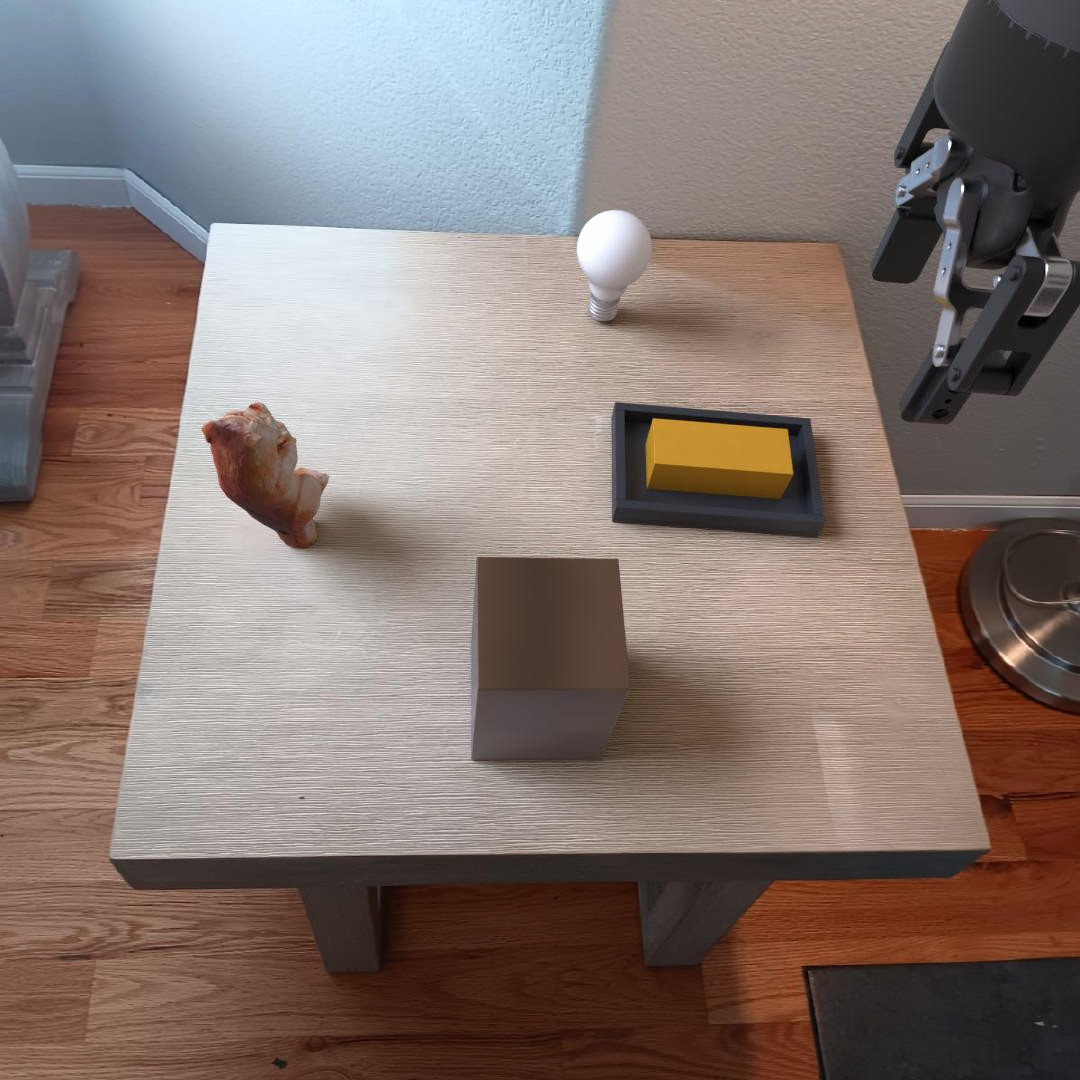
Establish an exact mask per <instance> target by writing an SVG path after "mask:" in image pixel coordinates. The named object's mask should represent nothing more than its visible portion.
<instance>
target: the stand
mask: <svg viewBox="0 0 1080 1080" xmlns="http://www.w3.org/2000/svg"><path fill="white" fill-rule="evenodd" d="M620 571H621V570H620V560H619V558H601V557H600V558H595V557H593V558H591V557H589V558H588V557H527V556H526V557H525V556H524V557H522V556H521V557H519V556H515V557H514V556H476V562H475V579H474V593H473V608H472V609H473V610H472V624H471V639H470V662H471V663H470V744H471V745H470V748H471V749H470V760H471V761H572V760H573V761H579V760H580V761H581V760H583V761H584V760H585V761H587V760H589V761H590V760H593V761H595V760H597V761H599V760H600V761H601V760H603V758H604V755H605V753H606V751H607V748H608V745H609V743H610V740H611V738H612V735H613V733H614V730H615V728H616V725H617V723H618V720H619V718H620V716H621V713H622V711H623V708H624V706H625V703H626V701H627V698H628V697H629V693H630V691H631V683H630V682H631V680H630V670H629V661H628V650H627V649H628V648H627V639H626V627H625V616H624V615H625V614H624V605H623V604H624V603H623V591H622V583H621V582H622V580H621V572H620Z"/></svg>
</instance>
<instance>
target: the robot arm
mask: <svg viewBox="0 0 1080 1080" xmlns="http://www.w3.org/2000/svg"><path fill="white" fill-rule="evenodd" d="M961 12H962V13H961V15H960V17H959V19H958V21H957V23H956V26H955V28H954V30H953V32H952V33H951V36H950V39H949V41H947V42H946V44H945V45H944V47H943V48H942V49H943V50H942V51H941V53H940V55H939V58H938V60H937V62H936V64H935V66H934V68H933V70H932V72H931V74H930V76H929V78H928V80H927V83H926V85H925V86H924V89H923V92H921V95H920V97H919V99H918V101H917V103H916V105H915V108H914V110H913V112H912V114H911V116H910V118H909V120H908V122H907V124H906V126H905V127H904V128H905V129H904V131H903V133H902V135H901V137H900V139H899V141H898V142H897V143H898V144H897V145H896V148H895V149H894V154H893V163H894V167H895V168H897V169H904V170H905V175H903V176H902V177H901V178H900V179H899V181H898V183H897V186H896V188H895V191H894V201H895V202H894V203H895V205H896V206H898V207H896V209H895V211H894V213H893V214H892V217H891V219H890V221H889V223H888V226H887V227H886V230H885V232H884V233H883V236H882V238H881V240H880V242H879V245H878V247H877V248H876V250H875V253H874V255H873V257H872V259H871V261H870V264H869V265H870V270H871V271H870V272H871V277H872V279H873V280H874V281H876V282H882V283H892V284H903V285H908V284H912V283H914V282H916V281H917V280H918V279H919V277H920V275H921V274H922V272H923V270H924V268H925V267H926V264H927V262H928V261H929V259H930V257H931V255H932V253H933V251H934V249H935V248H936V246H937V244H938V242H939V240H940V238H941V237H943V244H942V248H941V254H940V257H939V259H940V260H939V263H938V266H937V267H938V268H937V272H936V277H935V280H934V285H933V292H932V295H933V298H934V300H935V301H936V302H937V303H939V305H940V306H941V312H940V317H939V320H938V325H937V330H936V334H935V339H934V342H933V348H930V350H929V351H928V353H927V354H926V356H925V358H924V360H923V361H922V363H921V365H920V367H919V368H918V370H917V371H916V373H915V374H914V376H913V378H912V380H911V381H910V382H909V385H908V386H907V388H906V389H905V392H904V393H903V394H902V397H901V398H900V400H899V402H898V407H899V411H900V417H901V419H902V420H903V421H905V422H909V423H917V424H918V423H919V424H930V425H946V426H947V425H949V424H950V423H952V422H953V421H955V419H956V418H957V416H958V414H960V413H959V412H960V411H961V410H962V409H963V407H964V405H965V404H966V403H967V401H968V400H969V398H970V397H971V395H972V394H986V395H998V396H1009V397H1018V396H1019V395H1020V394H1021V393H1022V391H1023V390H1024V389H1025V387H1026V385H1027V384H1028V383H1029V381H1030V380H1031V379H1032V377H1033V375H1034V374H1035V372H1036V371H1037V370H1038V368H1039V366H1040V365H1041V363H1042V362H1043V360H1044V359H1045V357H1046V356H1047V354H1048V353H1049V352H1050V350H1051V348H1052V347H1053V346H1054V344H1055V342H1056V341H1057V340H1058V338H1059V337H1060V335H1061V334H1062V333H1063V331H1064V329H1066V327H1067V325H1068V323H1070V321H1071V318H1073V315H1074V314H1075V313H1076V312H1077V310H1078V308H1079V307H1080V260H1075V259H1066V257H1065V255H1064V253H1063V250H1062V247H1061V246H1060V243H1059V241H1058V239H1059V238H1060V236H1061V234H1062V232H1063V230H1064V227H1065V225H1066V222H1067V218H1068V215H1069V212H1070V210H1071V208H1072V206H1073V203H1074V201H1075V199H1076V196H1077V195H1078V194H1079V192H1080V0H967V2H966V3H965V6H964V7H963V10H962V11H961ZM934 129H938V130H949V131H948V133H945V134H943V135H942V136H940V137H939V138H937V139H936V140H935V141H934V142H931V141H924V140H925V138H926V136H927V134H928V133H929V132H930V131H932V130H934ZM966 268H969V269H979V270H990V271H995V270H996V271H997V270H1002V269H1005V268H1006V269H1005V270H1004V272H1003V274H1002V273H998V274H997V273H996V275H995V276H994V277H993V279H992V286H980V285H970V284H967V283H966V281H965V278H964V275H965V271H966ZM973 309H981V312H980V313H979V315H978V316H977V319H976V321H975V322H974V324H973V326H972V327H971V329H970V331H969V332H968V334H967V336H966V337H963V336H962V335H963V331H964V326H965V321H966V317H967V314H968V313H969V311H971V310H973ZM1009 352H1011V353H1010V354H1009V355H1008V353H1009Z"/></svg>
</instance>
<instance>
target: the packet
mask: <svg viewBox="0 0 1080 1080" xmlns="http://www.w3.org/2000/svg"><path fill="white" fill-rule="evenodd" d="M645 446H646V479H647V489H656V490H669V491H682V492H695V493H708V494H721V495H734V496H747V497H759V498H772V499H781V497H782V495H783V493H784V491H785V490H786V488H787V486H788V484H789V482H790V480H791V478H792V476H793V467H792V459H791V451H790V443H789V436H788V429H778V428H766V427H754V426H741V425H729V424H717V423H704V422H692V421H680V420H667V419H655V418H653V420H652V424H651V427H650V431H649V434H648V438H647V441H646V445H645Z"/></svg>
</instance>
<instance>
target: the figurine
mask: <svg viewBox="0 0 1080 1080" xmlns="http://www.w3.org/2000/svg"><path fill="white" fill-rule="evenodd" d="M200 431H201V433H203V436H204V439H205V442H206V443H208V444H210V447H209V449H210V453H211V455H212V461H213V465H214V467H215V469H216V475H217V479H218V480H217V481H218V485H219V487H220V489H221V491H222V492H223V494H224V495H225V496H226V498H228V499H229V500H230V501H231V502H232V503H234V504H235V505H236V506H238V507H239V508H241V510H243V511H245V512H246V513H247V514H248V515H249V516H250V517H251V518H252V519H254V520H255V521H257V522H258V523H259V524H261V525H263V526H265V527H267V528H269V529H271V530H273V531H274V532H275V533H276V534H277V536H278V537H279V539H280V540H281V541H282V542H283V544H285V545H286V546H287V547H291V548H295V549H302V548H306V547H310V546H312V545H313V544H314V543H315V542H316V540H318V533H317V526H316V524H315V520H314V518H315V517H316V515H317V514H318V513H319V509H320V506H321V499H322V497H323V496H322V495H323V492H324V490H326V488H327V485H328V484H329V479H330V475H328V474H327V473H326V472H319V471H318V470H314V469H311V468H306V467H297V464H298V459H299V457H298V456H299V455H298V448H297V442H298V441H297V438H296V437H294V436H292V434H291V432H290V431H289V429H288V428H287V426H286V425H285V423H284V422H282V421H280V420H276V418H275V417H274V416H273V415H272V412H271V411H270V410H269V409H268V407H267V405H266V404H264V403H263V402H261V401H255V402H252V403H250V404H249V406H248V407H247V408H246V409H241V410H239V409H235V410H231V411H229V412H227V413H226V414H225V415H224V416H223V417H221V418H219V419H216V420H213V419H210V420H209V421H207V422H205V423H203V425H202V426H201V429H200Z"/></svg>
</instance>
